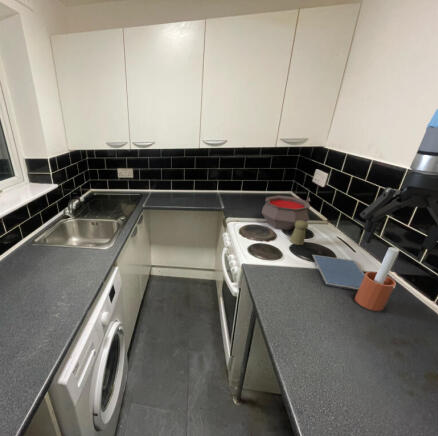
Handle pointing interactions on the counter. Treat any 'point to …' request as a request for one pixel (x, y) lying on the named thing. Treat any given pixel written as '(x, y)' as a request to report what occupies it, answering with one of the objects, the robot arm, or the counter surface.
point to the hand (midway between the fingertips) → (395, 244)
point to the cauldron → (285, 211)
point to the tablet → (339, 272)
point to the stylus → (386, 265)
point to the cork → (299, 232)
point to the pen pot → (374, 292)
